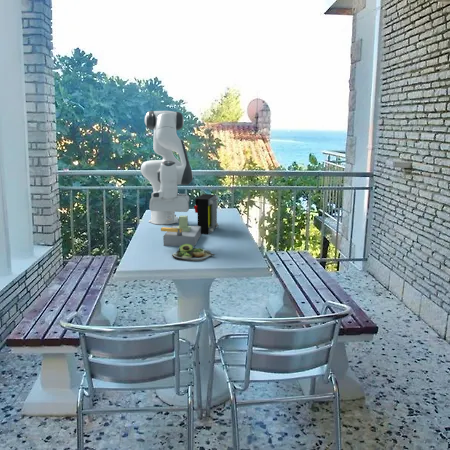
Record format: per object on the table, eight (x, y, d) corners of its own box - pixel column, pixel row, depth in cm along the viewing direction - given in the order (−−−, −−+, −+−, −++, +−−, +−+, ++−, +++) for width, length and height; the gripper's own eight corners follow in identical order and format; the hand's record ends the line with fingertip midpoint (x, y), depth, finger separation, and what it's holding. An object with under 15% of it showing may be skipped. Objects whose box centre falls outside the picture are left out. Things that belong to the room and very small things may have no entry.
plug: (178, 234, 252) (178, 214, 250) (191, 234, 251) (190, 215, 249) (176, 237, 245) (175, 217, 243) (189, 237, 245) (188, 217, 242)
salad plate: (221, 253, 222) (221, 244, 221) (206, 264, 206) (206, 254, 205) (185, 249, 229) (185, 240, 228) (168, 259, 213) (167, 249, 212)
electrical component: (212, 234, 259) (211, 199, 255) (194, 233, 261) (194, 198, 257) (218, 227, 276) (218, 194, 271) (202, 227, 278) (201, 194, 273)
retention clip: (160, 234, 237) (160, 228, 237) (162, 233, 240) (162, 227, 239) (181, 235, 234) (180, 229, 234) (182, 234, 237) (182, 228, 236)
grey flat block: (172, 234, 259) (172, 225, 258) (201, 235, 258) (200, 226, 257) (163, 245, 236) (163, 235, 235) (194, 246, 234) (194, 236, 233)
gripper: (190, 192, 237) (190, 218, 241) (151, 191, 239) (151, 217, 242) (188, 194, 231) (188, 221, 235) (148, 193, 233) (148, 220, 236)
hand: (169, 219), depth 238 cm, fingers closed
